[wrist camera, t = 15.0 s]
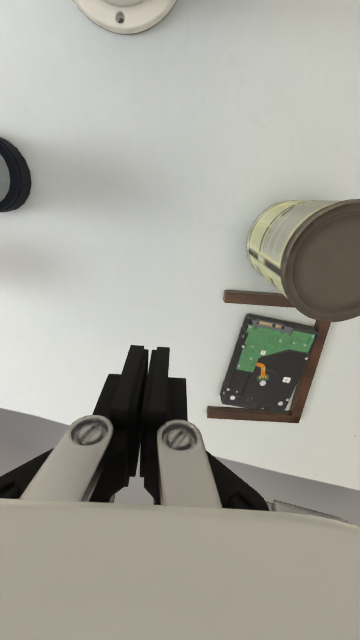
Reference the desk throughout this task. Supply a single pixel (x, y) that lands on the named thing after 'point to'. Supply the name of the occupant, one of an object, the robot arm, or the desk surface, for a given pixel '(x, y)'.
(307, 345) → the disk drive
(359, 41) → the desk surface
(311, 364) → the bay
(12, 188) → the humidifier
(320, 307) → the coffee can
